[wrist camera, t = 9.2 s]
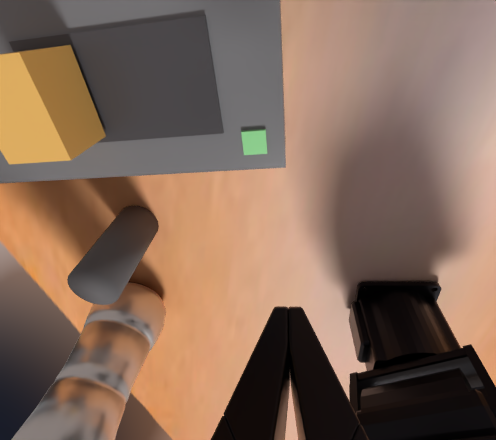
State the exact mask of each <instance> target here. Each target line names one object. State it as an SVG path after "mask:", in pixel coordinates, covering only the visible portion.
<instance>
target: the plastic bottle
mask: <svg viewBox="0 0 496 440" xmlns="http://www.w3.org/2000/svg"><path fill="white" fill-rule="evenodd" d="M165 315H166V310H165V306H164V303H163V301H162V299H161V297H160V296H159V295H158V294H157V293H156V292H155V291H153V290H152V289H150V288H148V287H146V286H143V285H140V284H136V283H127V285H126V286H125V288H124V290H123V292H122V293H121V295H120V297H119V298H118V300H117V301H116V302H115V303H113V304H109V305H98V304H93V306H92V308H91V310H90V312H89V314H88V316H87V319H86V322H85V325H84V329H83V331H82V333H81V335H80V337H79V339H78V340H77V343H76V344H75V346H74V348H73V350H72V352H71V354H70V356H69V358H68V360H67V362H66V364H65V366H64V367H63V369H62V370H61V372H60V373H59V375H58V376H57V378H56V380H55V383H54V384H53V385H51V387H50V388H49V389H48V391H47V393H46V394H45V395H44V397H43V398H42V400H41V402H40V403H39V404H38V406H37V407H36V409H35V410H34V411H33V413H32V414H31V415H30V416H29V418H28V419H27V420H26V422H25V423H24V424H23V425H22V427H21V428H20V429H19V431H18V432H17V433H16V434H15V436H14V437H13V438H12V440H115V437H116V433H117V429H118V427H119V423H120V420H121V418H122V415H123V412H124V409H125V403H126V402H127V400H128V398H129V394H130V392H131V389H132V386H133V384H134V382H135V380H136V378H137V376H138V374H139V372H140V370H141V368H142V366H143V363H144V361H145V359H146V357H147V355H148V353H149V351H150V350H151V349H152V347H153V345H154V344H155V342H156V341H157V339H158V337H159V335H160V333H161V331H162V330H163V326H164V321H165Z"/></svg>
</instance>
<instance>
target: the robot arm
mask: <svg viewBox="0 0 496 440" xmlns="http://www.w3.org/2000/svg"><path fill="white" fill-rule="evenodd" d="M440 291H441V287H440V285H439V284H438V283H437V282H361V283H359V284H358V286H357V292H356V299H355V302H354V301H353V303H352V304H351V309H350V316H349V323H350V328H351V332H352V337H353V342H354V346H355V351H356V356H357V360H358V361H359V362H362V363H365V364H366V369H367V371H365V372H361V373H357V372H355V373H351V374H350V385H349V389H350V402H349V400H348V398H347V396H346V394H345V392H344V390H343V388H342V386H341V384H340V382H339V380H338V378H337V376H336V374H335V372H334V370H333V368H332V366H331V364H330V362H329V360H328V358H327V356H326V354H325V352H324V350H323V348H322V346H321V344H320V342H319V340H318V338H317V336H316V334H315V332H314V330H313V328H312V326H311V324H310V322H309V320H308V318H307V316H306V314H305V312H304V310H303V309H302V308H301V307H289V308H287V307H275V308H274V309H273V311H272V313H271V315H270V317H269V319H268V321H267V323H266V325H265V328H264V330H263V332H262V334H261V336H260V338H259V340H258V342H257V344H256V347H255V349H254V351H253V353H252V355H251V357H250V359H249V361H248V363H247V365H246V368H245V370H244V372H243V374H242V376H241V378H240V380H239V382H238V384H237V386H236V389H235V391H234V393H233V395H232V397H231V399H230V401H229V403H228V405H227V407H226V410H225V412H224V416H222V418H221V420H220V422H219V424H218V426H217V428H216V430H215V432H214V434H213V436H212V438H211V440H285V431H286V420H287V409H288V398H289V386H290V380H291V389H292V397H293V404H294V411H295V418H296V426H297V433H298V440H496V387H495V385H494V383H493V381H492V380H491V378H490V376H489V374H488V373H487V371H486V369H485V367H484V366H483V364H482V362H481V360H480V359H479V357H478V355H477V354H476V352H475V350H474V348H473V347H472V345H471V344H470V345H466V346H463V348H461V347H460V345H459V343H458V342H457V340H456V338H455V336H454V334H453V332H452V330H451V328H450V327H449V325H448V323H447V321H446V319H445V317H444V315H443V313H442V312H441V310H440V308H439V306H438V304H437V302H436V301H437V299H438V296H439V294H440Z"/></svg>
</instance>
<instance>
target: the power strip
mask: <svg viewBox="0 0 496 440" xmlns="http://www.w3.org/2000/svg"><path fill="white" fill-rule="evenodd" d="M65 45H71V48H72V50H73V53H74V55H75V58H76V60H77V63H78V65H79V68H80V71H81V73H82V76H83V78H84V81H85V83H86V86H87V89H88V91H89V94H90V96H91V99H92V101H93V104H94V107H95V109H96V112H97V114H98V117H99V119H100V122H101V124H102V127H103V130H104V132H105V135H106V137H104V138H103V139H101V140H100V141H98V142H97V143H96V144H94V145H93V146H91V147H90V148H88V149H87V150H85V151H84V152H83V153H81V154H80V155H78V156H77V157H75V158H74V159H72V160H70V161H54V162H39V163H24V164H9V163H8V162H7V160H6V159H5V157H4V155H3V154H2V152H1V150H0V183H15V182H33V181H51V180H69V179H87V178H104V177H122V176H140V175H158V174H176V173H194V172H212V171H230V170H248V169H266V168H284V167H286V158H285V121H284V92H283V63H282V34H281V5H280V0H0V54H4V53H11V52H19V51H26V50H34V49H42V48H50V47H58V46H65Z"/></svg>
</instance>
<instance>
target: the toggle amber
mask: <svg viewBox="0 0 496 440" xmlns="http://www.w3.org/2000/svg"><path fill="white" fill-rule="evenodd" d="M104 137H106V135H105V132H104V130H103V127H102V124H101V122H100V119H99V117H98V114H97V112H96V109H95V107H94V104H93V101H92V99H91V96H90V94H89V91H88V89H87V86H86V83H85V81H84V78H83V76H82V73H81V71H80V68H79V65H78V63H77V60H76V58H75V55H74V53H73V50H72V48H71V45H65V46H58V47H50V48H42V49H34V50H26V51H19V52H11V53H4V54H0V150H1V152H2V154H3V155H4V157H5V159H6V160H7V162H8V163H9V164H24V163H39V162H54V161H70V160H72V159H74V158H75V157H77V156H78V155H80V154H81V153H83V152H84V151H85V150H87V149H88V148H90V147H91V146H93V145H94V144H96V143H97V142H98V141H100V140H101V139H103V138H104Z"/></svg>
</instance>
